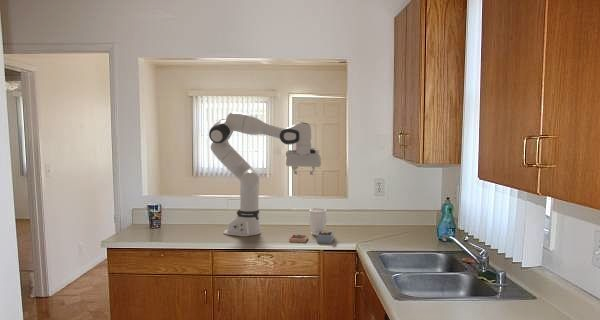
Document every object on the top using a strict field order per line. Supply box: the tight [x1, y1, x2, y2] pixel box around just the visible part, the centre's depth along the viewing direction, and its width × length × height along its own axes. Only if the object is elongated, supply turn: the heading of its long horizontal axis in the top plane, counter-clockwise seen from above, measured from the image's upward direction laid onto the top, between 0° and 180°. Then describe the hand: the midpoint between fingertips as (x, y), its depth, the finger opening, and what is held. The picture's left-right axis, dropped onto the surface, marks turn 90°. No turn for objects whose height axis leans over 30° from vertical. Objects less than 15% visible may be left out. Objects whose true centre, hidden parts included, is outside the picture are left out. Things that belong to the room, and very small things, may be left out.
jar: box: [308, 207, 327, 236], centre depth 254 cm, size 11×10×15 cm
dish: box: [288, 234, 309, 243], centre depth 238 cm, size 9×9×2 cm
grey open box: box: [316, 231, 334, 244], centre depth 236 cm, size 8×8×5 cm
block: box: [321, 230, 330, 235], centre depth 236 cm, size 4×4×5 cm
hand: (303, 174), depth 243 cm, fingers open, 8 cm apart
